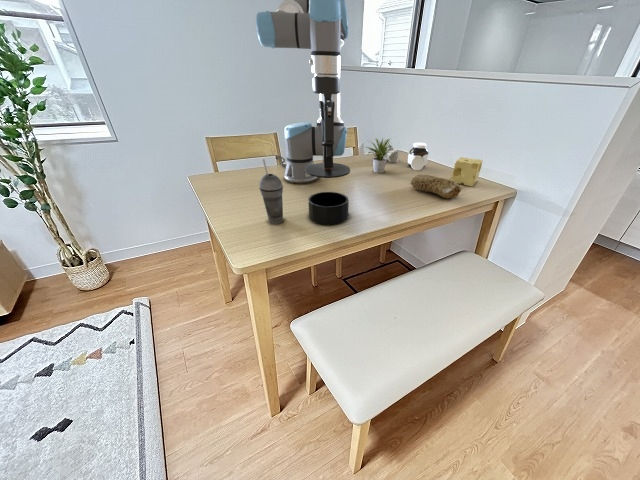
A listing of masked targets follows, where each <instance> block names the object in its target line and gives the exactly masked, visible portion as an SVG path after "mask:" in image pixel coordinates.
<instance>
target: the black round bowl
mask: <svg viewBox="0 0 640 480" xmlns="http://www.w3.org/2000/svg"><path fill="white" fill-rule="evenodd" d="M349 200H350V199H349V197H348V196H347V195H346V194H344V193H340V192H337V191H321V192H316V193H313V194H311V195H310V196H309V197H308V202H307V203H308V216H309V220H310V221H311V222H312V223H314V224H317V225H320V226H336V225H341V224H343V223H345V222H346V221H347V220H348V219H349V206H350V205H349V203H350V201H349Z"/></svg>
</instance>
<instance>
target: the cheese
mask: <svg viewBox="0 0 640 480" xmlns="http://www.w3.org/2000/svg"><path fill="white" fill-rule="evenodd" d="M483 161H484V160H483V159H480V158H479V159H478V158H470V157H463V156H460V157H459V158H458V159H457V160H456V161H455V162H454V166H453V171H452V174H451V179H450V180H452V181H453V182H455V183H457V184H459V185H464V186H468V187H473V186H474V185H475V184H476V182H477V180H478V178H479V176H480V173H481V170H482V166H483Z"/></svg>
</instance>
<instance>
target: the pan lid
mask: <svg viewBox="0 0 640 480" xmlns="http://www.w3.org/2000/svg"><path fill="white" fill-rule="evenodd" d="M323 144H324V142H323ZM306 173H307V174H309V175H311V176H314V177H318V178H322V179H334V178H335V179H337V178H341V177H345V176H348V175H349V174H350V173H351V168H350V167H349V166H347V165H346V164H342V163H338V162H333V168H324V146H323V156H322V162H318V163H314V164H313V165H310V166H308V167H306Z"/></svg>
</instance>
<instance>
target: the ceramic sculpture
mask: <svg viewBox="0 0 640 480" xmlns="http://www.w3.org/2000/svg"><path fill="white" fill-rule="evenodd" d="M388 146H389V145H388ZM388 146H387V147H388ZM386 150H388V151H386V152H389V153H387V154H385V156H384V157H383V158H386V159H387V161H386V162H390V163H391V164H395V163H396V162H397V161H399V157H400V152H399V150H398V149H396V150H395V149H394V147H393V146H392V145H391V144H390V146H389V147H388V148H387V149H386ZM373 156H374V157H377V156H376V154H373Z"/></svg>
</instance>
